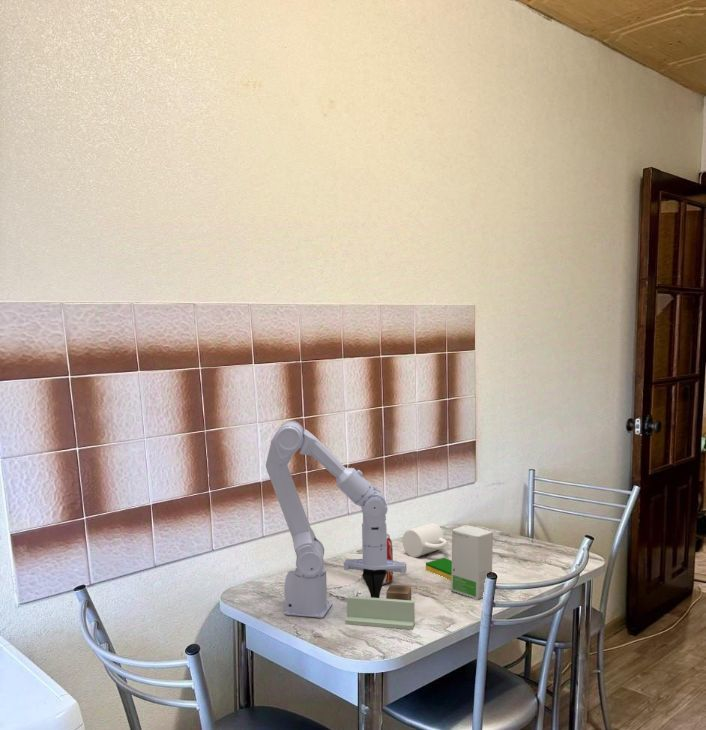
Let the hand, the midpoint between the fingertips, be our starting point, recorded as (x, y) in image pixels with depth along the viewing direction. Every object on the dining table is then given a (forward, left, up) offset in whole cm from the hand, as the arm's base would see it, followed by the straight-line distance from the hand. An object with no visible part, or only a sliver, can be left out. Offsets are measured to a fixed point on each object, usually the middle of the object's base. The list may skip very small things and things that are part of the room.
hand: (375, 601), depth 147 cm
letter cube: (+5, 0, -2) cm, 6 cm away
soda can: (-3, +17, -2) cm, 17 cm away
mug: (+7, +41, -2) cm, 42 cm away
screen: (+2, -7, -2) cm, 8 cm away
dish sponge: (+15, +26, -2) cm, 30 cm away
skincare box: (+21, +14, -2) cm, 26 cm away
